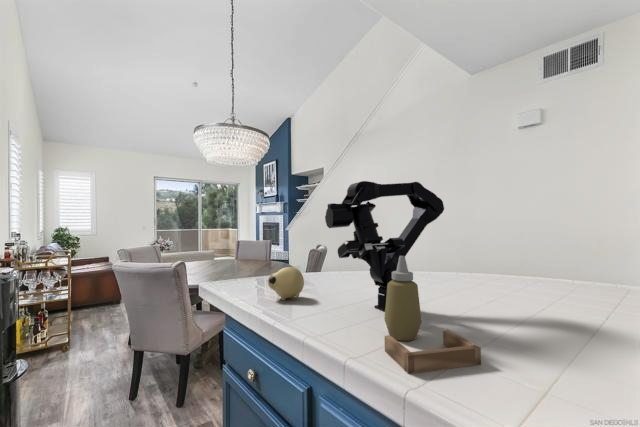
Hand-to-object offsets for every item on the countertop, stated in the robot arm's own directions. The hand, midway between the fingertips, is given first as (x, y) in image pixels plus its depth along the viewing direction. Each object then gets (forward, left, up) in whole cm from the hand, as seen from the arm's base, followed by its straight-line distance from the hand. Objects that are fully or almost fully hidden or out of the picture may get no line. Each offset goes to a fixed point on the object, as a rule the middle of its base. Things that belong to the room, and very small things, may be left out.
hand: (381, 277), depth 79 cm
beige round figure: (+8, -35, -11) cm, 37 cm away
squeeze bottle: (+5, +10, -11) cm, 16 cm away
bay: (+9, +20, -11) cm, 25 cm away
